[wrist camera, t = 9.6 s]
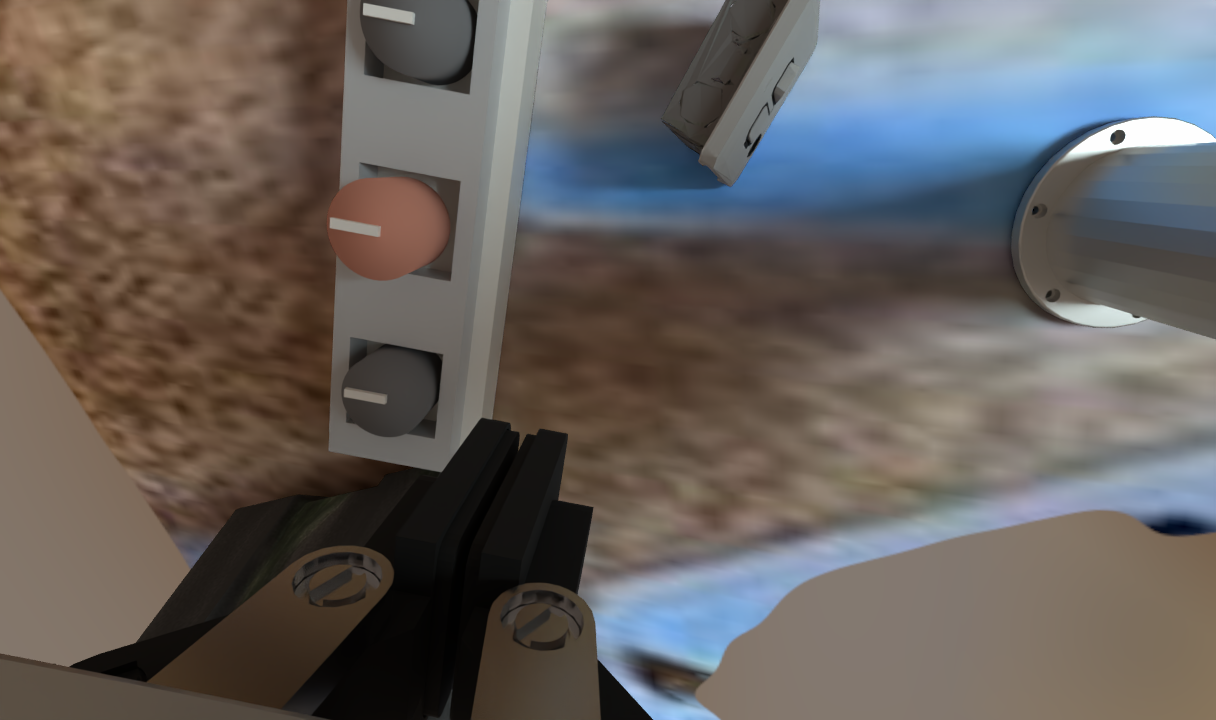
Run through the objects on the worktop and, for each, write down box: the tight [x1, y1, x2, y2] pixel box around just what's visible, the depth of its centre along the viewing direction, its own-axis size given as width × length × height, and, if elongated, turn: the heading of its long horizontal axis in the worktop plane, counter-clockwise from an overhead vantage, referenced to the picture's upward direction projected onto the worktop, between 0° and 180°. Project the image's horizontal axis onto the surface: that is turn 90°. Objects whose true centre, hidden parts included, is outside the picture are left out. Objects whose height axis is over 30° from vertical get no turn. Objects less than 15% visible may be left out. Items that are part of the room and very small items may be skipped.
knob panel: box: [329, 0, 547, 472], centre depth 37 cm, size 10×30×6 cm, turn 170°
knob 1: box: [360, 0, 478, 85], centre depth 32 cm, size 5×5×4 cm
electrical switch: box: [661, 0, 820, 187], centre depth 33 cm, size 9×5×9 cm, turn 151°
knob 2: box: [341, 343, 443, 437], centre depth 38 cm, size 5×5×4 cm
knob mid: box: [327, 177, 450, 281], centre depth 32 cm, size 5×5×4 cm
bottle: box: [136, 468, 452, 720], centre depth 34 cm, size 18×16×30 cm
